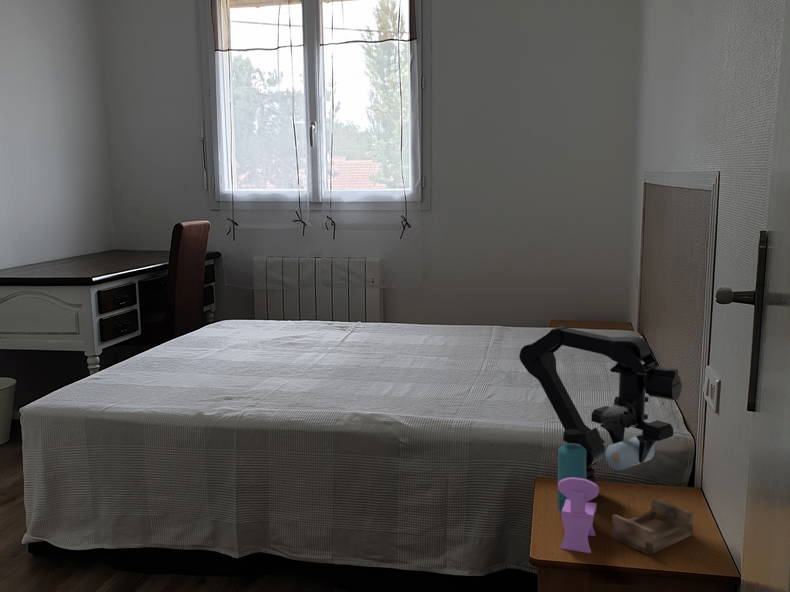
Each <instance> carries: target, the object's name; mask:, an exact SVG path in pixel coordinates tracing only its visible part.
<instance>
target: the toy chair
mask: <svg viewBox="0 0 790 592" xmlns="http://www.w3.org/2000/svg"><path fill="white" fill-rule="evenodd" d="M558 489H559V491H560V492H561V493H562V494H564V495H565V496H566V497H567V498H568V499H566V501H565V504H564V507H563V509H562V513H561V516H560V517H561V519H560V520H561V523H562V525H563V528H564V538H563V540H562V542H561V544H560V547H559V548H560V549H562V550H568V551H574V552H582V553H588V554H592V550H591V547H590V542H589V536H592V537H596V532H595V529H594V528H595V527H594V524H593V523H594V518H595V513H596V512H597V505H598V504H597V502H590V501H592V500H594V499H595V498H597V497H598V495H599V492H600V487H599V486H598V484H596V482H595V483H593V482H591V481H589V480H586V479H583V478H575V477H570V478H565V479H562V480H560V481H559V483H558V482H557V490H558ZM569 499H570V500H569Z"/></svg>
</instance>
